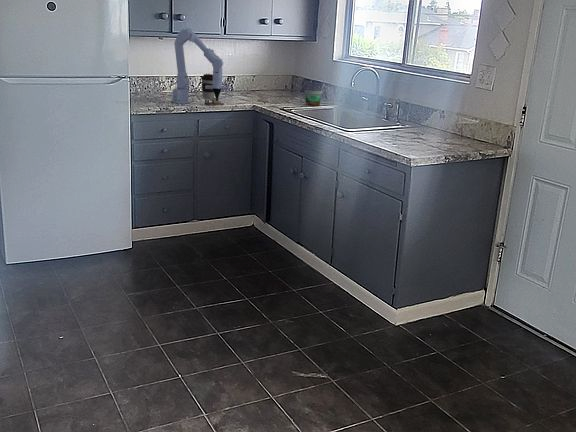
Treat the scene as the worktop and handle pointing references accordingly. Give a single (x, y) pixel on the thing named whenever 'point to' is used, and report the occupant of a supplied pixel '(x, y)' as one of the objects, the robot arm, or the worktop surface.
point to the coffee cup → (207, 80)
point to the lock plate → (212, 103)
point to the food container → (313, 97)
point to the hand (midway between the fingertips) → (216, 101)
